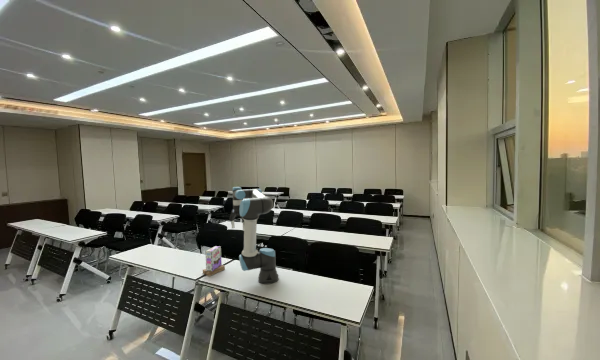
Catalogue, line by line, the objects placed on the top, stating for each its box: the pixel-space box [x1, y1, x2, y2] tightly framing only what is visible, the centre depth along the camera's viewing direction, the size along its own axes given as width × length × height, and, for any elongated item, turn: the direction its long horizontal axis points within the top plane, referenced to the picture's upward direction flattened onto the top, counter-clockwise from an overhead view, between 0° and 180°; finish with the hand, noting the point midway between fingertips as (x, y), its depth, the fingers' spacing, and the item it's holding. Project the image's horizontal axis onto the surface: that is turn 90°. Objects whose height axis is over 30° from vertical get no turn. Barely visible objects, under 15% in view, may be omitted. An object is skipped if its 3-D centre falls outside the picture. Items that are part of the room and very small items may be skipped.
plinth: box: [202, 264, 226, 277], centre depth 208 cm, size 9×15×3 cm, turn 146°
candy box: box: [205, 245, 223, 271], centre depth 207 cm, size 14×6×16 cm, turn 165°
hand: (238, 228), depth 218 cm, fingers open, 13 cm apart
